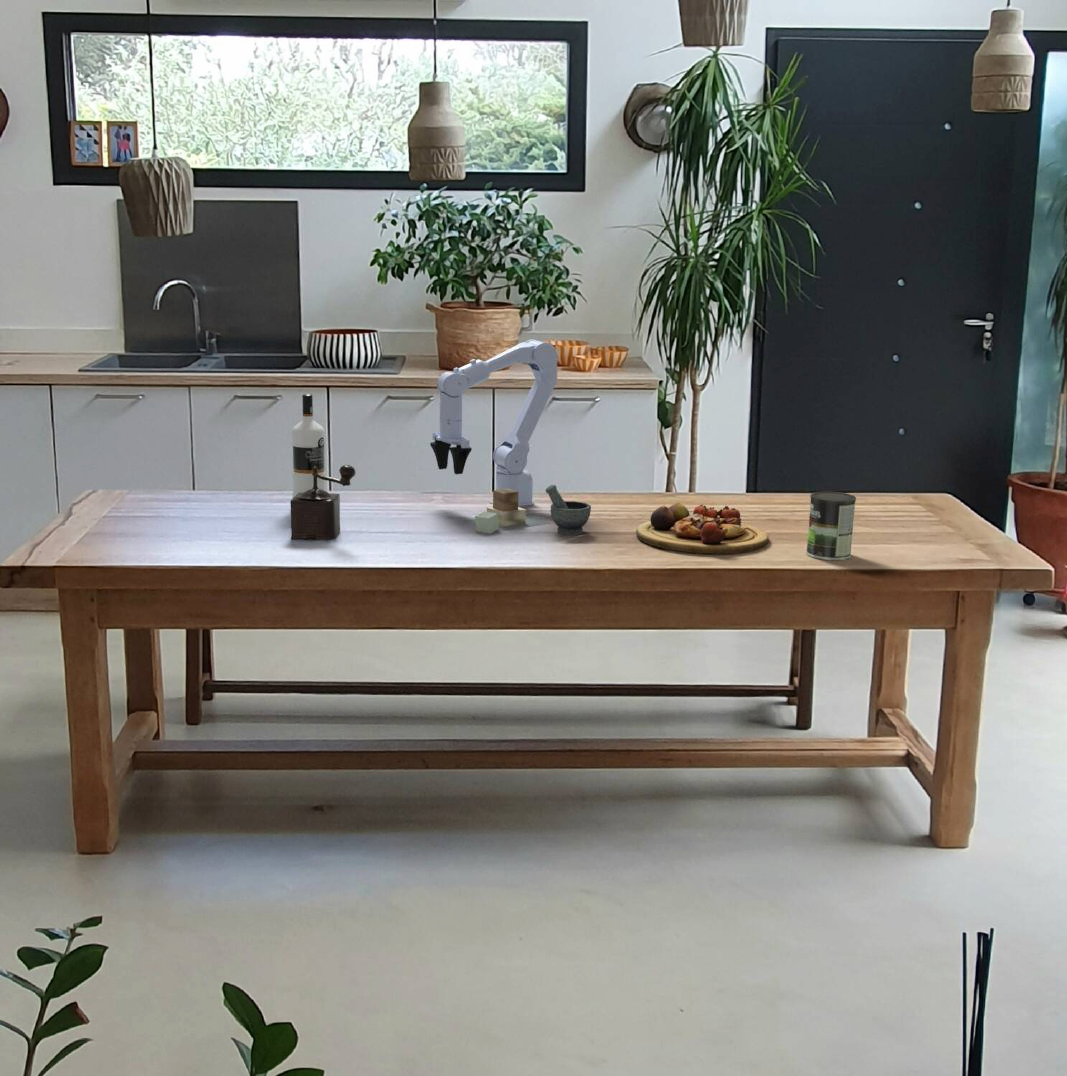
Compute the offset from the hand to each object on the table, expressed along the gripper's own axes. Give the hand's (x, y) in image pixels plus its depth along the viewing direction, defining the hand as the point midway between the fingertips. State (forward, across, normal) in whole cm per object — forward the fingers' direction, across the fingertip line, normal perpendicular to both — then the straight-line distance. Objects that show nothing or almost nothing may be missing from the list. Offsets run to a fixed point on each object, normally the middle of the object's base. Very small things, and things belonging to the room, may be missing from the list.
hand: (450, 471), depth 349 cm
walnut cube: (+6, +21, +3) cm, 22 cm away
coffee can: (+10, +86, +49) cm, 99 cm away
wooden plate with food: (+11, +59, +34) cm, 69 cm away
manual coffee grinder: (+10, +9, -41) cm, 43 cm away
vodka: (+10, -17, -32) cm, 38 cm away
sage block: (+10, +26, -6) cm, 28 cm away
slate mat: (+10, +21, +3) cm, 23 cm away
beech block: (+10, +21, +3) cm, 23 cm away
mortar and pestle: (+10, +37, +10) cm, 40 cm away
